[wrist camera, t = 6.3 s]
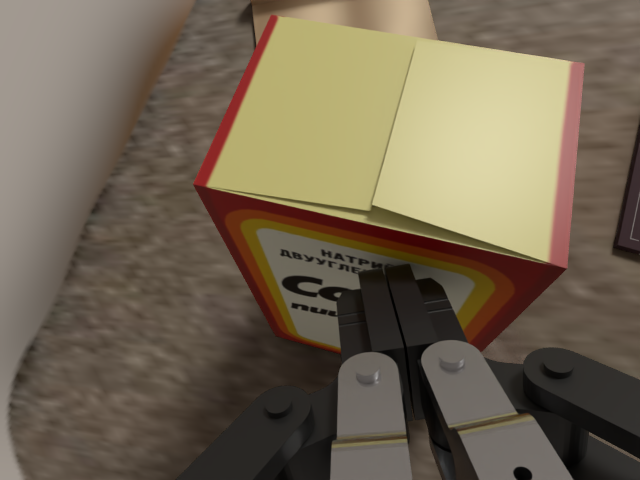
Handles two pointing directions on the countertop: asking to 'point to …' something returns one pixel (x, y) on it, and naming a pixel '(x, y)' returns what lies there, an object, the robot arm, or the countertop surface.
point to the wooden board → (352, 15)
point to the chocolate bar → (631, 208)
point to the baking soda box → (393, 173)
